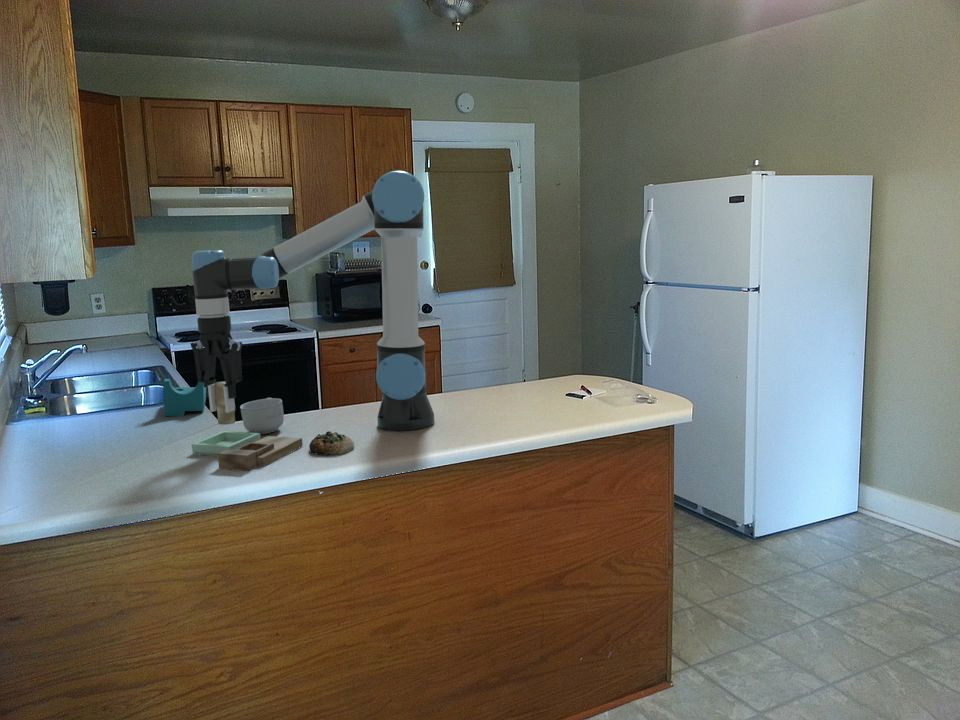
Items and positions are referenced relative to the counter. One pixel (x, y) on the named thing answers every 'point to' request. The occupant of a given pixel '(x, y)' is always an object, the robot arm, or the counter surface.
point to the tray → (223, 442)
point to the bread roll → (331, 444)
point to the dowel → (223, 406)
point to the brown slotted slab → (271, 448)
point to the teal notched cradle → (183, 399)
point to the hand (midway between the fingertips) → (222, 410)
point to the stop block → (237, 460)
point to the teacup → (262, 415)
